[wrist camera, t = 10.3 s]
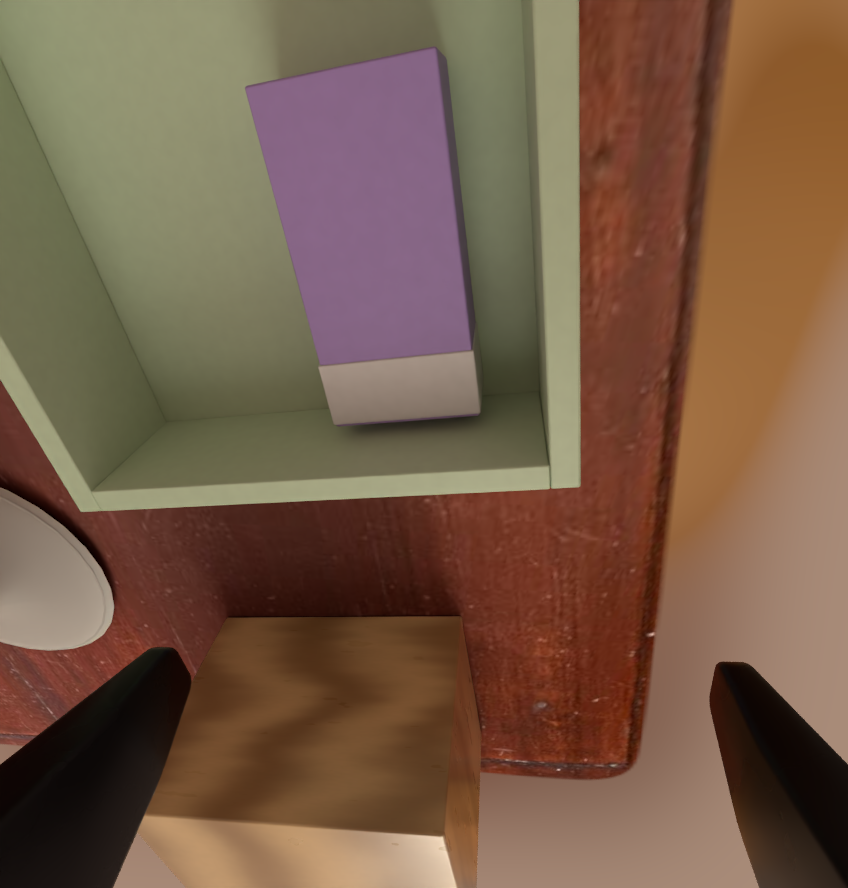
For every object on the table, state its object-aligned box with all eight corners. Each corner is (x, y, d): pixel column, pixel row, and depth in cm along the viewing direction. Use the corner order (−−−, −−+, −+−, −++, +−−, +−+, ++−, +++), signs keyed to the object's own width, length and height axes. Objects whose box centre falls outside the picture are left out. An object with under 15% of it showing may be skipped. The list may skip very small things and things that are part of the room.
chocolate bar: (448, 56, 13) (438, 44, 11) (483, 381, 18) (481, 417, 16) (278, 91, 14) (239, 86, 12) (353, 393, 19) (334, 428, 17)
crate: (461, 615, 25) (443, 836, 17) (481, 733, 30) (474, 947, 22) (226, 616, 27) (118, 813, 19) (280, 726, 32) (211, 918, 24)
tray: (539, -675, 9) (575, -1428, 4) (562, 402, 19) (581, 488, 14) (-200, -348, 11) (-608, -615, 7) (163, 434, 21) (80, 512, 17)
